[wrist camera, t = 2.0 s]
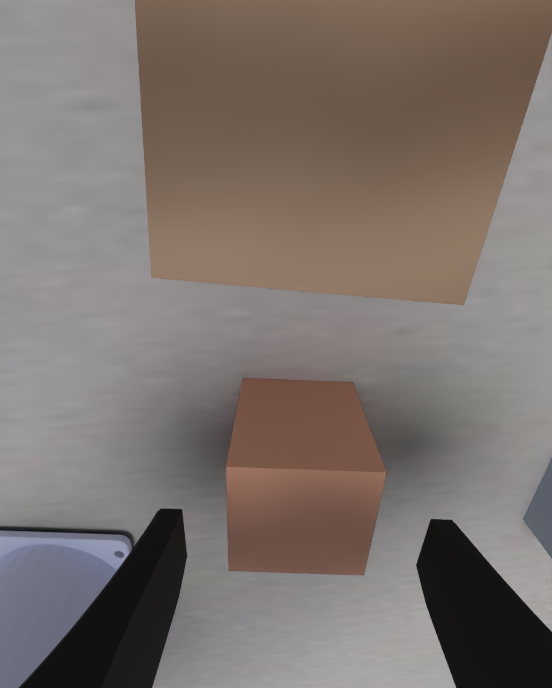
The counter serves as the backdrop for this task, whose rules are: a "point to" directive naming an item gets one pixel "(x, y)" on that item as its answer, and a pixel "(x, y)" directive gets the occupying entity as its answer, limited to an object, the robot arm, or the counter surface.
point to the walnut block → (332, 138)
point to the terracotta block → (301, 479)
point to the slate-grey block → (542, 512)
